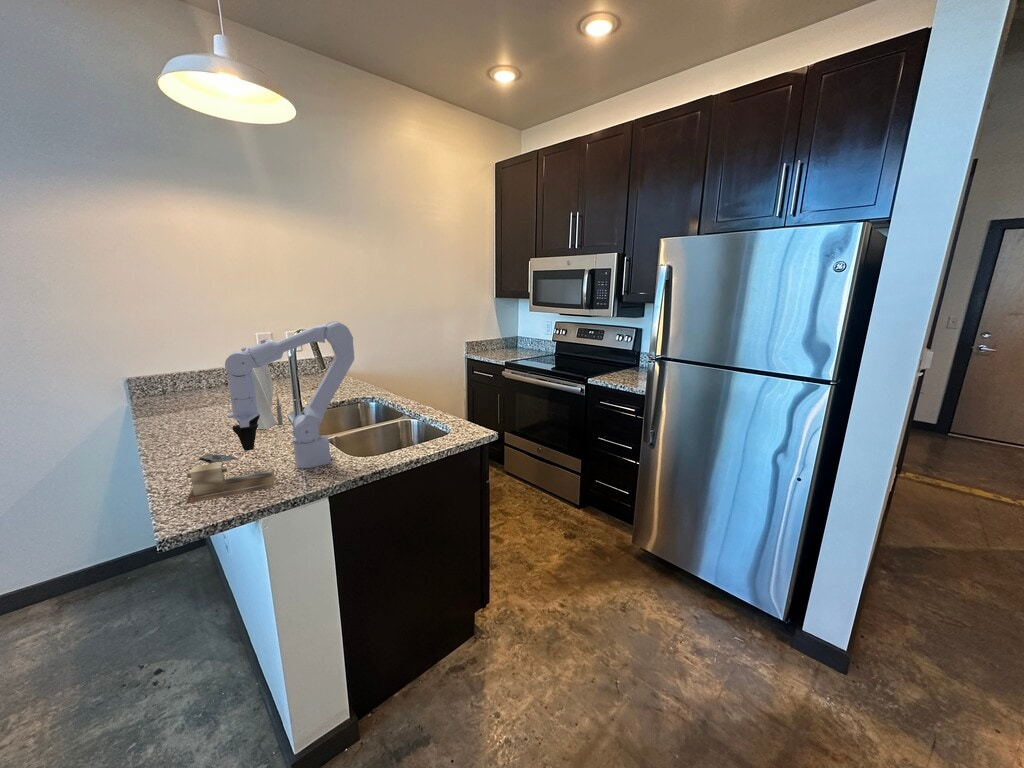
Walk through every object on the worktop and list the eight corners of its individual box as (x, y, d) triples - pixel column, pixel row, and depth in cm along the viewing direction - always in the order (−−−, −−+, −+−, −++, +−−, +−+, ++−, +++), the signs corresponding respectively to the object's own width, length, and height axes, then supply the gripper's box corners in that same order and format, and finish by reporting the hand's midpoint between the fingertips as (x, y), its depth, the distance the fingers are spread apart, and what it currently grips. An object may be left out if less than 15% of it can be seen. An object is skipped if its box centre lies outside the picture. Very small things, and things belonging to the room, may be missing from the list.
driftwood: (197, 459, 126) (196, 453, 126) (221, 453, 132) (220, 446, 132) (230, 476, 116) (229, 469, 115) (255, 468, 122) (255, 461, 121)
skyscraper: (267, 432, 151) (258, 357, 145) (249, 431, 153) (239, 356, 147) (284, 425, 159) (276, 354, 153) (266, 424, 161) (258, 353, 155)
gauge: (230, 483, 107) (226, 461, 106) (228, 489, 103) (225, 467, 102) (191, 489, 103) (188, 467, 102) (188, 496, 100) (184, 473, 98)
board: (274, 475, 115) (273, 466, 115) (274, 492, 105) (273, 483, 105) (195, 488, 107) (194, 479, 106) (186, 509, 97) (184, 499, 96)
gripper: (228, 392, 113) (234, 439, 116) (222, 405, 101) (229, 456, 104) (258, 390, 117) (263, 435, 119) (255, 402, 104) (261, 452, 107)
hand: (249, 445), depth 112 cm, fingers open, 7 cm apart
